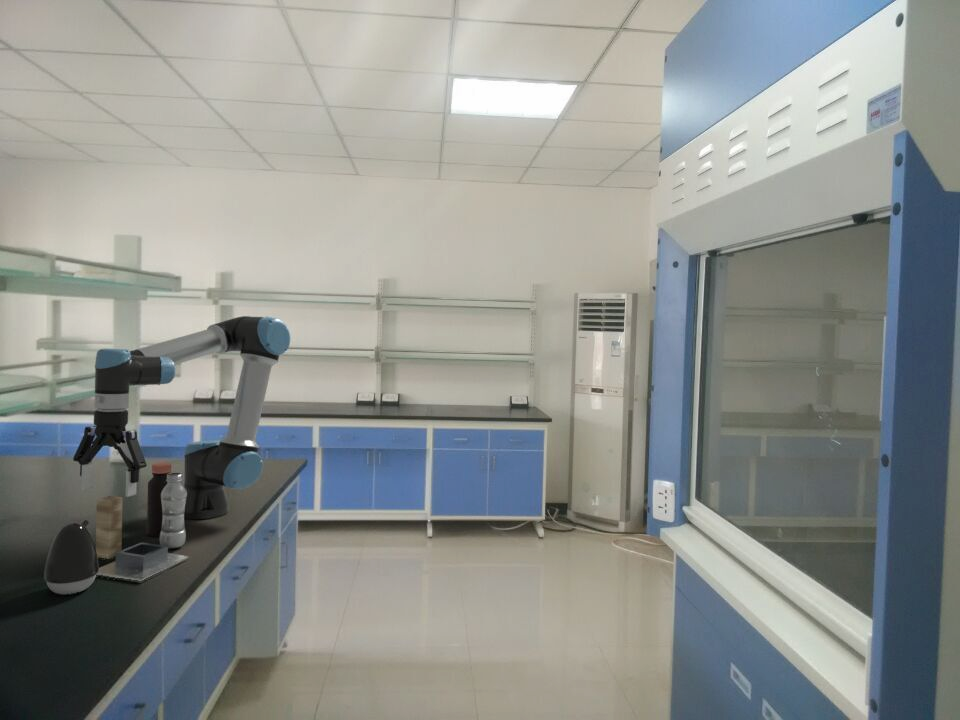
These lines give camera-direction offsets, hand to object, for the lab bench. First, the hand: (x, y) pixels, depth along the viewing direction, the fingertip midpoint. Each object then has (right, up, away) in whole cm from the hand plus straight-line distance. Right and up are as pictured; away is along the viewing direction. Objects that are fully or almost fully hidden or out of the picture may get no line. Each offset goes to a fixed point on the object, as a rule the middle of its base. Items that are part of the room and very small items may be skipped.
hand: (108, 492), depth 158 cm
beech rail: (-1, -17, +1) cm, 17 cm away
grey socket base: (+11, -18, -5) cm, 21 cm away
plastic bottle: (+12, -17, +9) cm, 23 cm away
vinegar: (+3, -16, +20) cm, 26 cm away
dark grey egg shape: (+3, -18, -19) cm, 26 cm away
